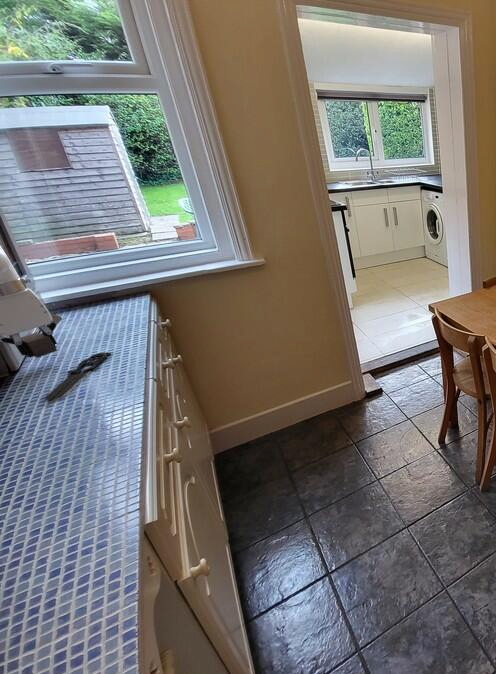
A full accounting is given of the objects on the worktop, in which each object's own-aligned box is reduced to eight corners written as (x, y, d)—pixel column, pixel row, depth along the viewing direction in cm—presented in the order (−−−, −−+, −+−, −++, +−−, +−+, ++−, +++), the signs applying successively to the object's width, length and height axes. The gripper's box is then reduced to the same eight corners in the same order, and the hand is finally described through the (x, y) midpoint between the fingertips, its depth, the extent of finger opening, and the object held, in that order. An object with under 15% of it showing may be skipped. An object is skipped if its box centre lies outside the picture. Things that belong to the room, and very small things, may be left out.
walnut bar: (57, 350, 112) (48, 336, 110) (37, 357, 109) (28, 343, 107) (45, 346, 115) (36, 332, 113) (25, 353, 111) (16, 338, 109)
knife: (58, 404, 95) (55, 400, 94) (24, 410, 94) (20, 405, 93) (119, 354, 117) (117, 349, 117) (92, 358, 116) (90, 353, 115)
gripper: (40, 277, 112) (74, 336, 120) (-54, 299, 98) (-9, 364, 106) (53, 279, 109) (87, 340, 117) (-42, 303, 95) (3, 370, 103)
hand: (41, 351), depth 111 cm, fingers closed on walnut bar, 4 cm apart
